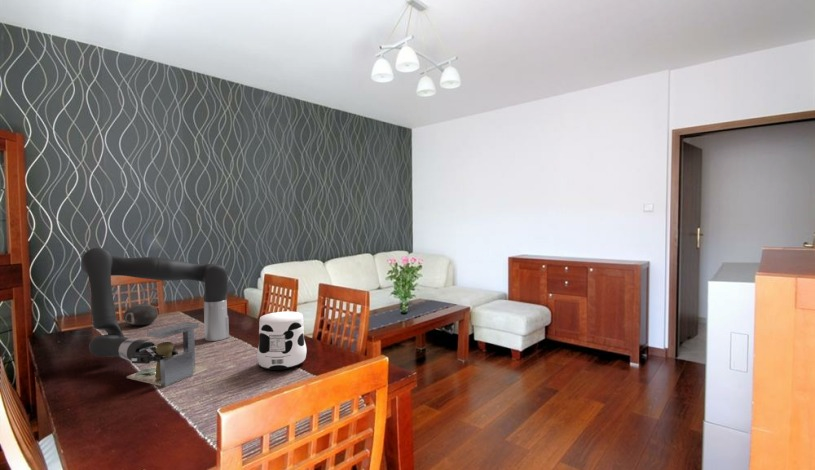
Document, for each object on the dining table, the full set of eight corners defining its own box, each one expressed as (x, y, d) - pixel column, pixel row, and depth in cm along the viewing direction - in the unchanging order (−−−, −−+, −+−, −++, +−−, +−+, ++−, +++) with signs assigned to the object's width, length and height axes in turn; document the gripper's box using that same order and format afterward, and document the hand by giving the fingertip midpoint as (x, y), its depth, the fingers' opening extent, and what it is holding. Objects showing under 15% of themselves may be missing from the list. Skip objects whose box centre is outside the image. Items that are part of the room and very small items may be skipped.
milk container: (292, 353, 159) (291, 308, 158) (315, 364, 146) (314, 316, 145) (249, 364, 146) (248, 316, 146) (270, 378, 134) (269, 325, 133)
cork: (166, 379, 131) (165, 346, 131) (150, 377, 132) (149, 345, 132) (180, 372, 137) (179, 340, 136) (165, 370, 138) (164, 339, 138)
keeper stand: (126, 377, 135) (124, 329, 134) (168, 362, 149) (167, 318, 149) (165, 387, 128) (163, 336, 127) (206, 369, 142) (205, 324, 141)
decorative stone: (122, 322, 206) (121, 303, 206) (155, 318, 215) (154, 299, 215) (125, 331, 191) (125, 310, 191) (160, 325, 200) (160, 305, 200)
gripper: (115, 345, 133) (149, 352, 127) (156, 334, 146) (189, 339, 140) (116, 367, 134) (150, 376, 127) (156, 354, 147) (190, 360, 140)
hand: (170, 357), depth 133 cm, fingers closed on cork, 4 cm apart
